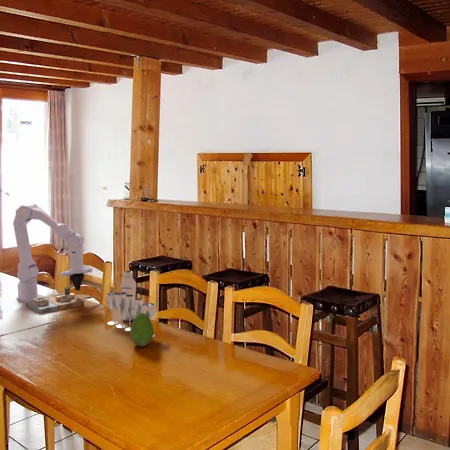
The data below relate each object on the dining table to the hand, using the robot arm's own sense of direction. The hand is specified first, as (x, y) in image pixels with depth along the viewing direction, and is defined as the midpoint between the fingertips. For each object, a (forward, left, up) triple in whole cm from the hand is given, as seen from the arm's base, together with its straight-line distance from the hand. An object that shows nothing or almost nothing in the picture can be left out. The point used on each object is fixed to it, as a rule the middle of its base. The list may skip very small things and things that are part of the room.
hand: (77, 289), depth 250 cm
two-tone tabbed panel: (0, -11, -5) cm, 12 cm away
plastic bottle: (+41, +1, -5) cm, 41 cm away
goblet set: (+51, -5, -6) cm, 51 cm away
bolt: (0, -6, -3) cm, 7 cm away
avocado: (+68, -12, -5) cm, 70 cm away
